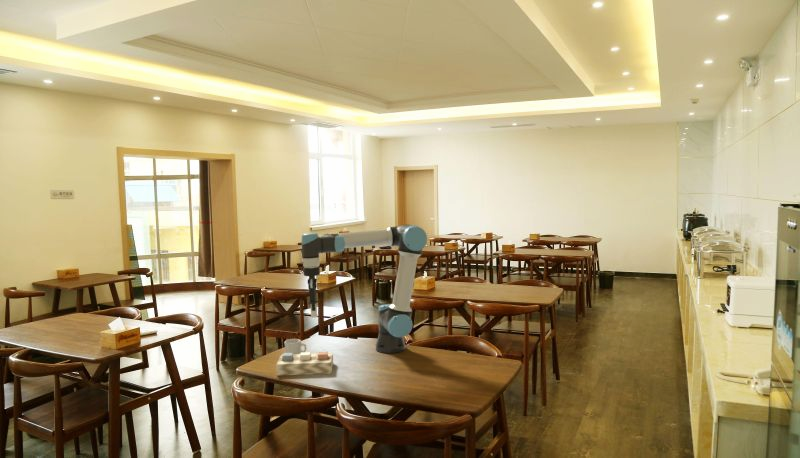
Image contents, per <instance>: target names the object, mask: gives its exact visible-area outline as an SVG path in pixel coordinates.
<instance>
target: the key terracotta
mask: <svg viewBox="0 0 800 458" xmlns="http://www.w3.org/2000/svg"><path fill="white" fill-rule="evenodd" d="M328 353H329V352H328V351H318V353H317V354H318V360H327V359H328Z"/></svg>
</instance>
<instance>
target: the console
mask: <svg viewBox="0 0 800 458" xmlns="http://www.w3.org/2000/svg"><path fill="white" fill-rule="evenodd" d="M300 354H301V353H300ZM300 354H293V361H282V355H283V354H280V356H279V358H278V360H277V362H276V365H275V366H276V367H275V369H276V371H275V372H276V376H277V377H278V376H294V375H295V376H297V375H299V376H300V375H303V376H305V375H325V374H326V375H328V374H332V373H333V366H334V353H333V352H328V359H327V360H318V353H311V360H300Z"/></svg>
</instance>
